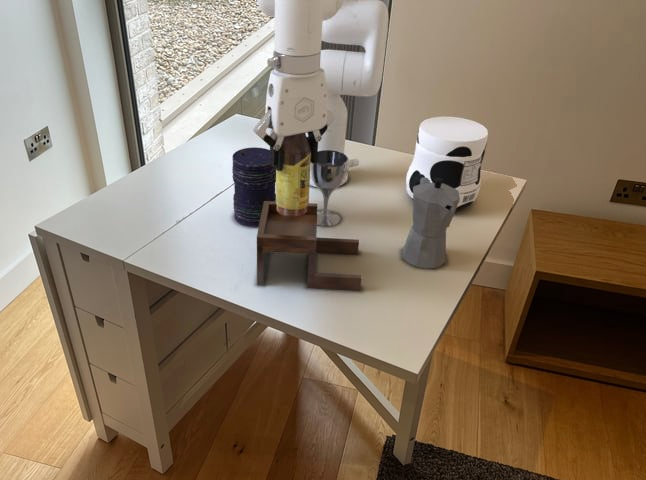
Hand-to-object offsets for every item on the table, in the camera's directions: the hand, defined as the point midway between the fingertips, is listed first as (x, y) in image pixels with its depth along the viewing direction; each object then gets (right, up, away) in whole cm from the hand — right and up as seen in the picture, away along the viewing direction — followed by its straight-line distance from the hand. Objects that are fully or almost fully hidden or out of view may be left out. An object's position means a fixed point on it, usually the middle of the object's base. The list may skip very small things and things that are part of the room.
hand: (293, 163), depth 106 cm
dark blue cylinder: (-8, -6, +30) cm, 32 cm away
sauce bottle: (0, -8, +6) cm, 10 cm away
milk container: (+37, -1, +38) cm, 53 cm away
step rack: (+4, -18, +13) cm, 23 cm away
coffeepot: (+28, -16, +18) cm, 36 cm away
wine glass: (+8, -7, +30) cm, 31 cm away
